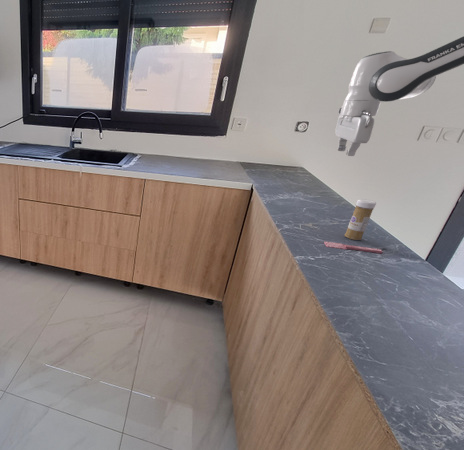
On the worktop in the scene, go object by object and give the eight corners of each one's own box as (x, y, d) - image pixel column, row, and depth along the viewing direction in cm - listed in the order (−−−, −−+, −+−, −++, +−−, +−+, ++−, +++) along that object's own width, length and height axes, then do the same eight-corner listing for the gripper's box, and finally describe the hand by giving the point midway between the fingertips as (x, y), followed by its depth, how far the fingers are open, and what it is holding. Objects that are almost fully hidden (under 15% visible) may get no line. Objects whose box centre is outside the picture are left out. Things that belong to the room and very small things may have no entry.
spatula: (377, 249, 98) (378, 247, 98) (383, 255, 95) (384, 253, 95) (323, 242, 104) (324, 240, 104) (327, 247, 101) (327, 245, 100)
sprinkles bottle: (340, 235, 108) (354, 199, 103) (351, 234, 109) (365, 198, 104) (353, 241, 104) (368, 203, 99) (365, 240, 105) (380, 202, 100)
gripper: (386, 111, 90) (369, 159, 95) (360, 108, 107) (347, 148, 112) (358, 111, 92) (343, 158, 98) (337, 108, 109) (325, 148, 115)
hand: (345, 153), depth 105 cm, fingers open, 8 cm apart
